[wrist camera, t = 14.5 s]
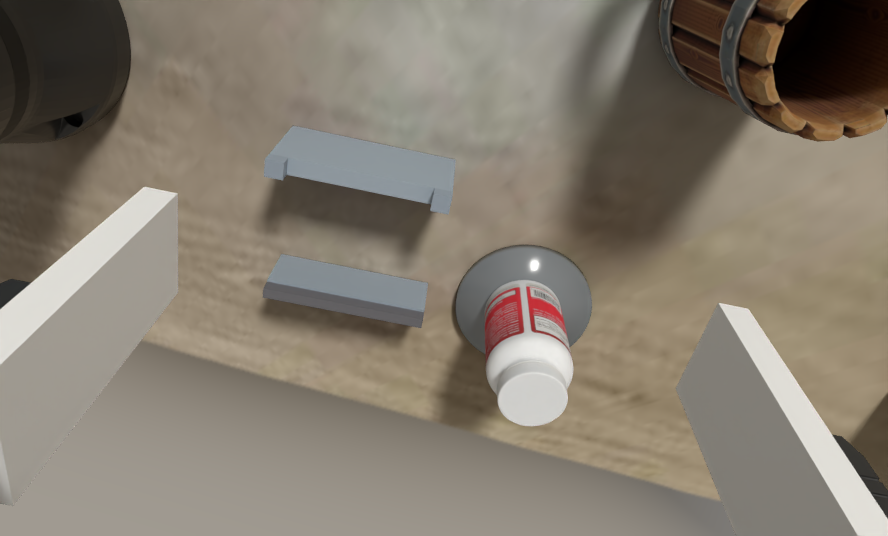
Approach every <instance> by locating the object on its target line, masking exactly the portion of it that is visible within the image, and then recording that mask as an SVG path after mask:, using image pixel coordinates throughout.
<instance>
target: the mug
mask: <svg viewBox="0 0 888 536" xmlns="http://www.w3.org/2000/svg"><path fill="white" fill-rule="evenodd" d="M658 17H659V18H660V19H659V29H658V31H659V36H660V41H661V45H662V47H663V49H664V52H665V54H666V56H667V58H668V60H669V62H670V64H671V66H672V67H673V68H674V69H675V70H676V71H677V72H678V73H679V74H680V75H681V76H682V78H683V79H684V80H686V81H687V82H689V83H691V84H693V85H695V86H696V87H698V88H700V89H702V90H704V91H706V92H707V93H709V94H711V95H715V96H720V97H723V98H725V99H726V100H728V101H730V102H732V103H734V104H736V105H738V106H739V107H740V108H741V109H742V110H743V111H744V112H745V113H746V114H748V115H750V116H752V117H754V118H755V119H757V120H759V121H761V122H763V123H764V124H766V125H768V126H770V127H772V128H774V129H776V130H777V131H781V132H785V133H790V134H794V135H799V136H800V137H802V138H805V139H810V140H814V141H835V140H836V139H838V138H840V137H842V135H844V136H846V137H848V138H853V137H858V136H863V135H866V134H869V133H872V132H874V131H877V130H879V129H881V128H882V127H883V126H884V125H885V123H886V122H887V115H888V0H660V3H659V11H658Z"/></svg>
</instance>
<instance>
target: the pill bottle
mask: <svg viewBox="0 0 888 536" xmlns="http://www.w3.org/2000/svg"><path fill="white" fill-rule="evenodd" d="M485 352H486V374H487V380H488V382H489V385H490V387H491V388H492V390H493V391H494V392H495V393H496V394H497V400H498V406H499V409H500V411H501V412H502V414H503V415H504V416H505V417H506V418H507V419H508V420H510V421H512V422H514V423H516V424H519V425H523V426H539V425H543V424H546V423H549V422H551V421H553V420H554V419H556V418H557V417H558V416H560V415H561V413H562V412H563V411H564V409H565V407H566V405H567V401H568V395H567V388H568V386H569V385H570V382H571V380H572V376H573V361H572V356H571V352H570V347H569V342H568V338H567V333H566V328H565V324H564V319H563V315H562V310H561V306H560V303H559V300H558V298H557V297H556V295H555V294H554V292H553V291H552V290H551V289H549V288H548V287H547V286H545V285H543V284H541V283H539V282H536V281H531V280H517V281H512V282H509V283H506V284H504V285H502V286H500V287H499V288H498V289H496V290H495V291H494V292H493V293H492V295H491V296H490V298H489V299H488V301H487V304H486V307H485Z"/></svg>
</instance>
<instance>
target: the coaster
mask: <svg viewBox="0 0 888 536" xmlns="http://www.w3.org/2000/svg"><path fill="white" fill-rule="evenodd" d="M517 280H531V281H536V282H539V283H541V284H543V285H545V286H547V287H548V288H549V289H551V290H552V291H553V292H554V294H555V295H556V297H557V298H558V300H559V303H560V306H561V310H562V315H563V319H564V324H565V328H566V333H567V338H568V342H569V347H571V346H572V345H573V344H574V343H575V342H576V341H577V340H578V339H579V338H580V336H581V335H582V334H583V332H584V331H585V329H586V327H587V325H588V323H589V319H590V316H591V310H592V299H591V293H590V290H589V286H588V283H587V281H586V279H585V277H584V275H583V273H582V272H581V270H580V269H579V268H578V267H577V266H576V265H575V264H574V263H573V262H572V261H571V260H570V259H569V258H567V257H566V256H564V255H562V254H561V253H559V252H557V251H554V250H552V249H549V248H545V247H542V246H535V245H515V246H509V247H504V248H501V249H498V250H495V251H493V252H491V253H489V254H487V255H486V256H484V257H482V258H481V259H479V260H478V261H477V262H476V263H475V264H473V266H472V267H471V268H470V269H469V270H468V271H467V273H466V274H465V275H464V277H463V279H462V281H461V283H460V285H459V288H458V291H457V297H456V316H457V321H458V324H459V327H460V329H461V331H462V333H463V334H464V336H465V337H466V339H467V340H468V341H469V342H470V343H471V344H472V345H473V346H474V347H475V348H477V349H478V350H479V351H481V352H482V353H484V354H486V352H485V307H486V304H487V301H488V299H489V298H490V296H491V295H492V293H493V292H494V291H495V290H496V289H498V288H499V287H500V286H502V285H504V284H506V283H509V282H512V281H517Z"/></svg>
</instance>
